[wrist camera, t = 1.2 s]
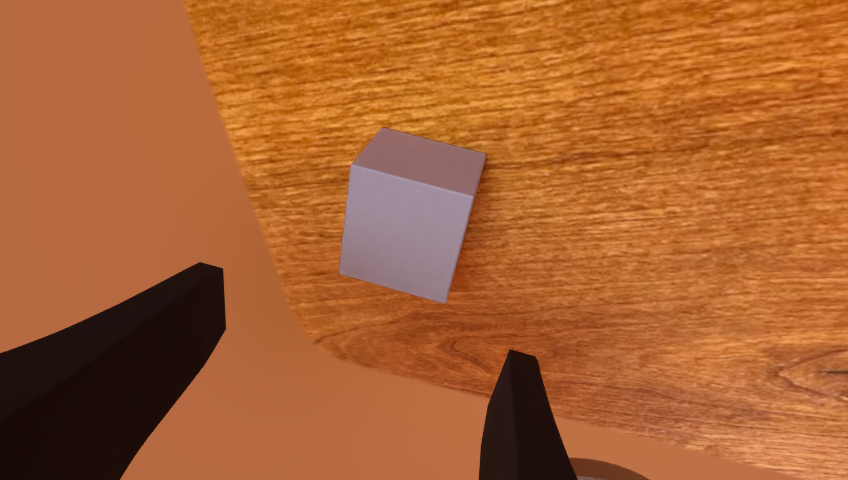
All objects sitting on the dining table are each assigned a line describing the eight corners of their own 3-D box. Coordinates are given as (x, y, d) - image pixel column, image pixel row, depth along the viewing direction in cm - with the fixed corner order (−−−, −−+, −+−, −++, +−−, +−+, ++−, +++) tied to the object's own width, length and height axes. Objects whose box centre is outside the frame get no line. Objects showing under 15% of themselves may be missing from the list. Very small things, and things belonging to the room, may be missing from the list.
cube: (460, 250, 21) (445, 304, 18) (367, 225, 22) (338, 274, 19) (487, 153, 19) (474, 197, 16) (382, 126, 19) (350, 164, 16)
